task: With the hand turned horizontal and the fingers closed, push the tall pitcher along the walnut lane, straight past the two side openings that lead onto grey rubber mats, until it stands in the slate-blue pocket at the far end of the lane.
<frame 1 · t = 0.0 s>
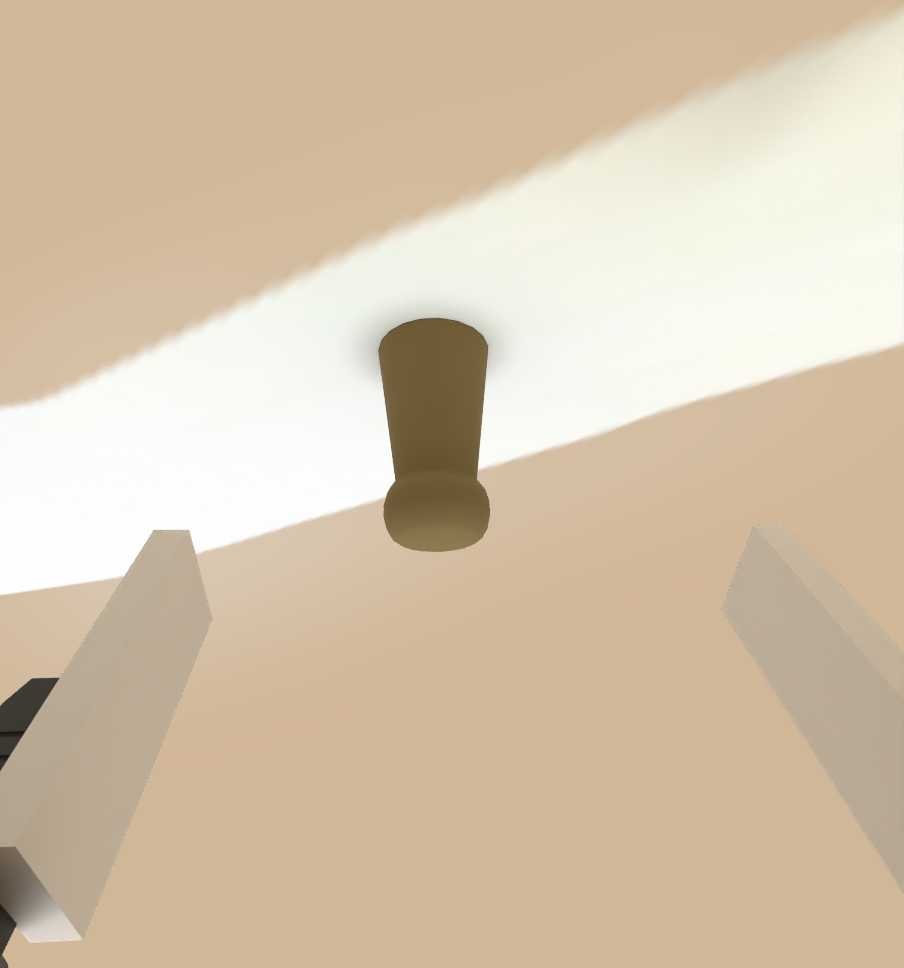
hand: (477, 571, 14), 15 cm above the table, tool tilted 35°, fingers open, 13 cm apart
cork: (433, 350, 32), on the table
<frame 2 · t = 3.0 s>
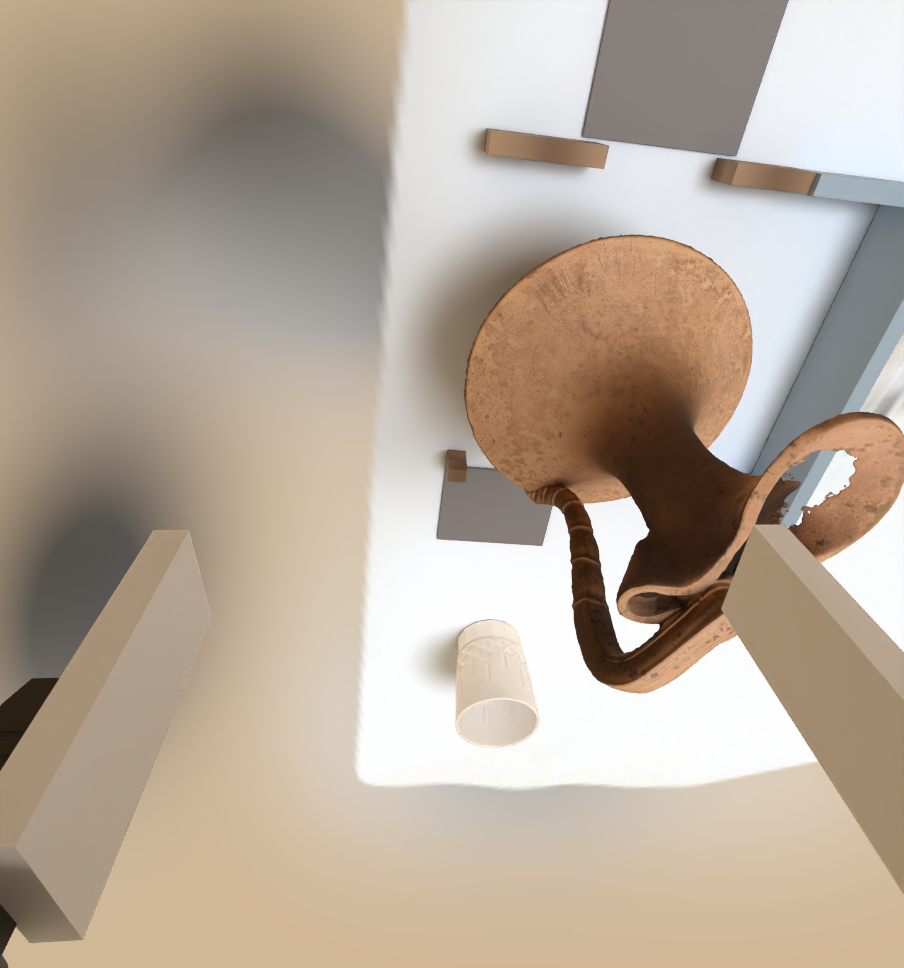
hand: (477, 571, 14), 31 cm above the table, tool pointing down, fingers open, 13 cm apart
pitcher: (568, 331, 43), on the table
mat b: (496, 506, 52), on the table
mat a: (679, 68, 34), on the table
lane: (633, 338, 43), on the table
beige tumbler: (488, 638, 62), on the table
pocket: (721, 347, 44), on the table
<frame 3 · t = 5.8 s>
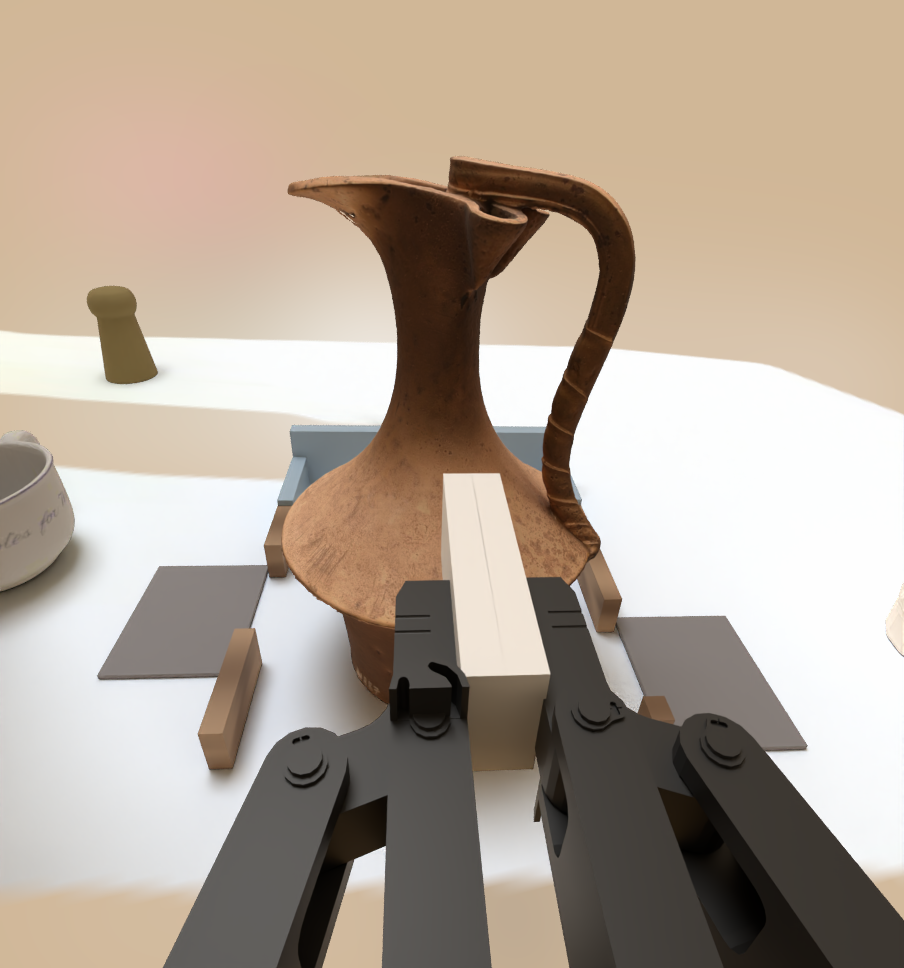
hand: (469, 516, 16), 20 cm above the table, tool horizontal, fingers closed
pitcher: (436, 648, 38), on the table
mat b: (699, 677, 36), on the table
mat a: (193, 617, 39), on the table
cork: (132, 376, 74), on the table
lane: (434, 593, 42), on the table
teacup: (18, 555, 44), on the table
pocket: (431, 534, 48), on the table
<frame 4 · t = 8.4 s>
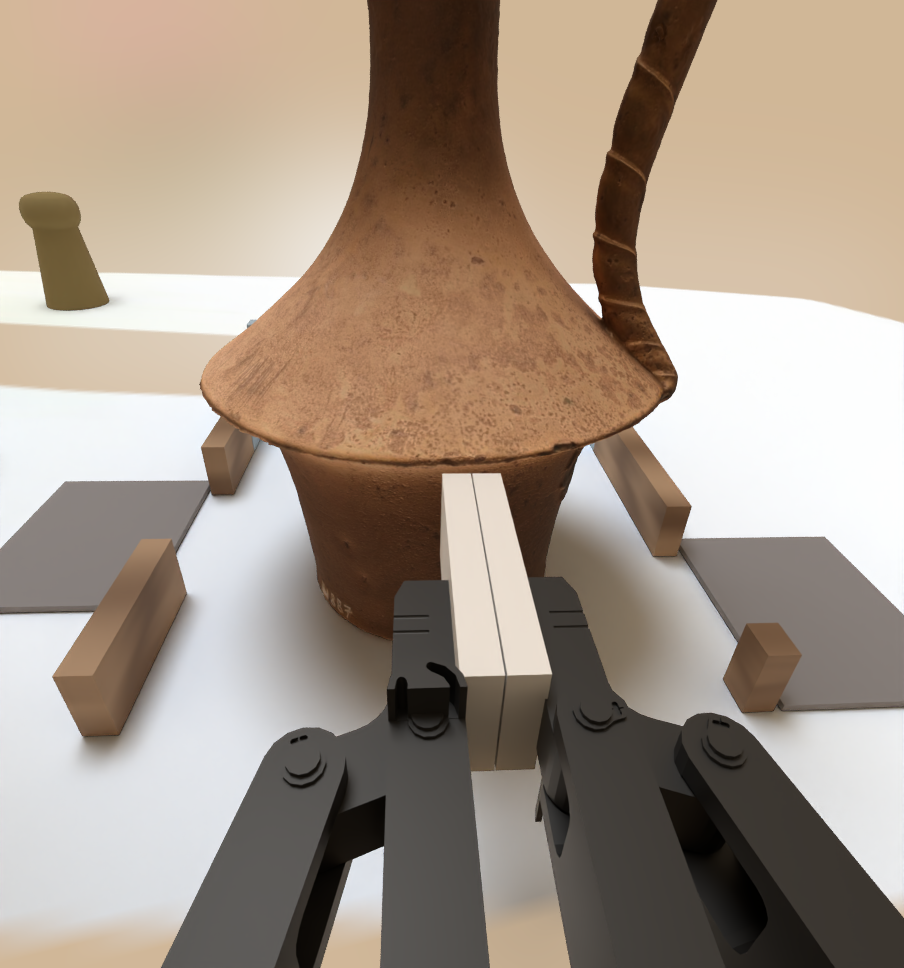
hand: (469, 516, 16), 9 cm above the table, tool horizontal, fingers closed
pitcher: (434, 566, 28), on the table, touching gripper
mat b: (805, 611, 26), on the table
mat a: (100, 539, 28), on the table
cork: (79, 304, 64), on the table
lane: (430, 512, 31), on the table
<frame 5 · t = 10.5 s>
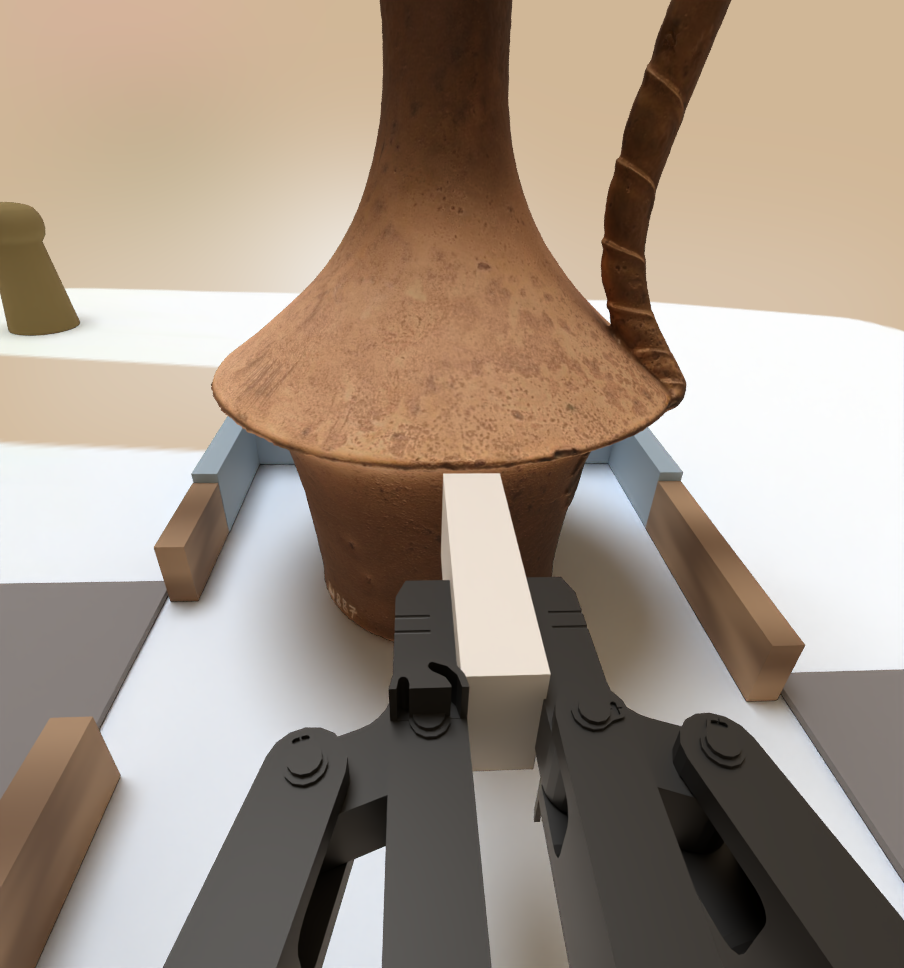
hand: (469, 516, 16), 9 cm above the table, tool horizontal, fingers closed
pitcher: (441, 569, 28), on the table, touching gripper
mat a: (15, 678, 21), on the table
cork: (45, 327, 57), on the table
lane: (450, 629, 24), on the table
pocket: (442, 529, 30), on the table
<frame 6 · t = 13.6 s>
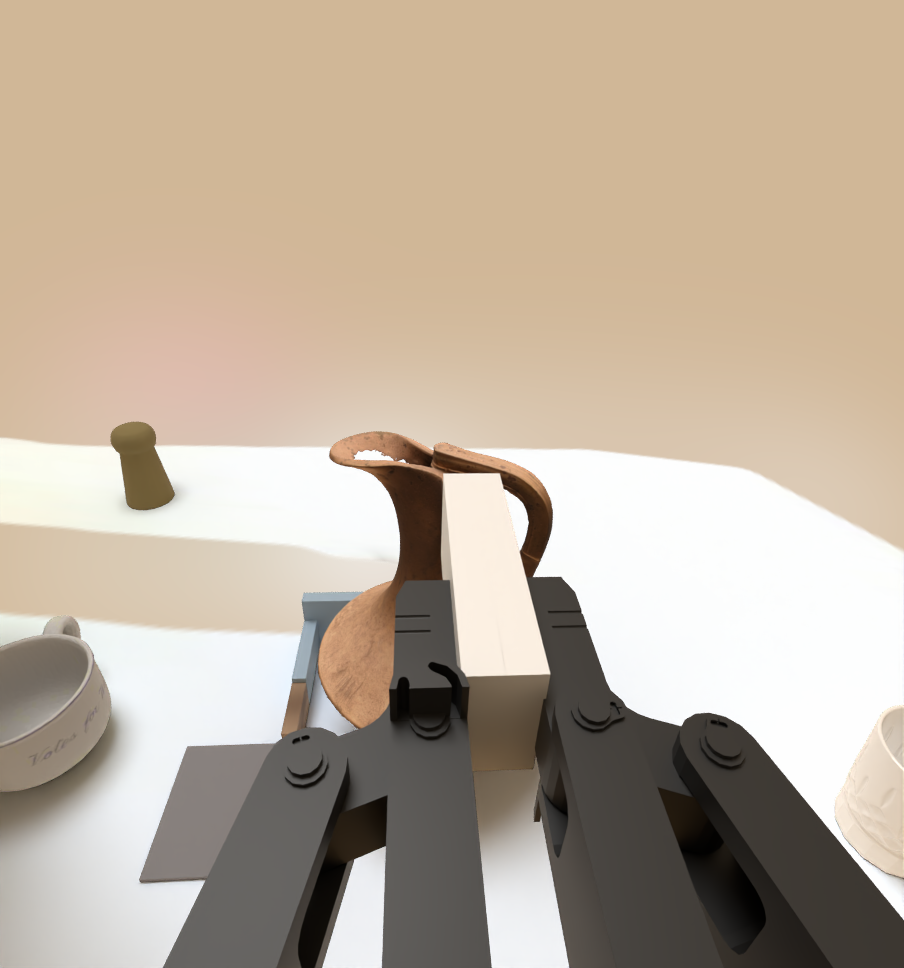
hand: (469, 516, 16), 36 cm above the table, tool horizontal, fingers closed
pitcher: (429, 730, 50), on the table
mat a: (220, 806, 44), on the table
cork: (151, 498, 80), on the table
lane: (432, 773, 47), on the table
beige tumbler: (881, 833, 44), on the table
teacup: (60, 731, 49), on the table
pocket: (430, 700, 53), on the table
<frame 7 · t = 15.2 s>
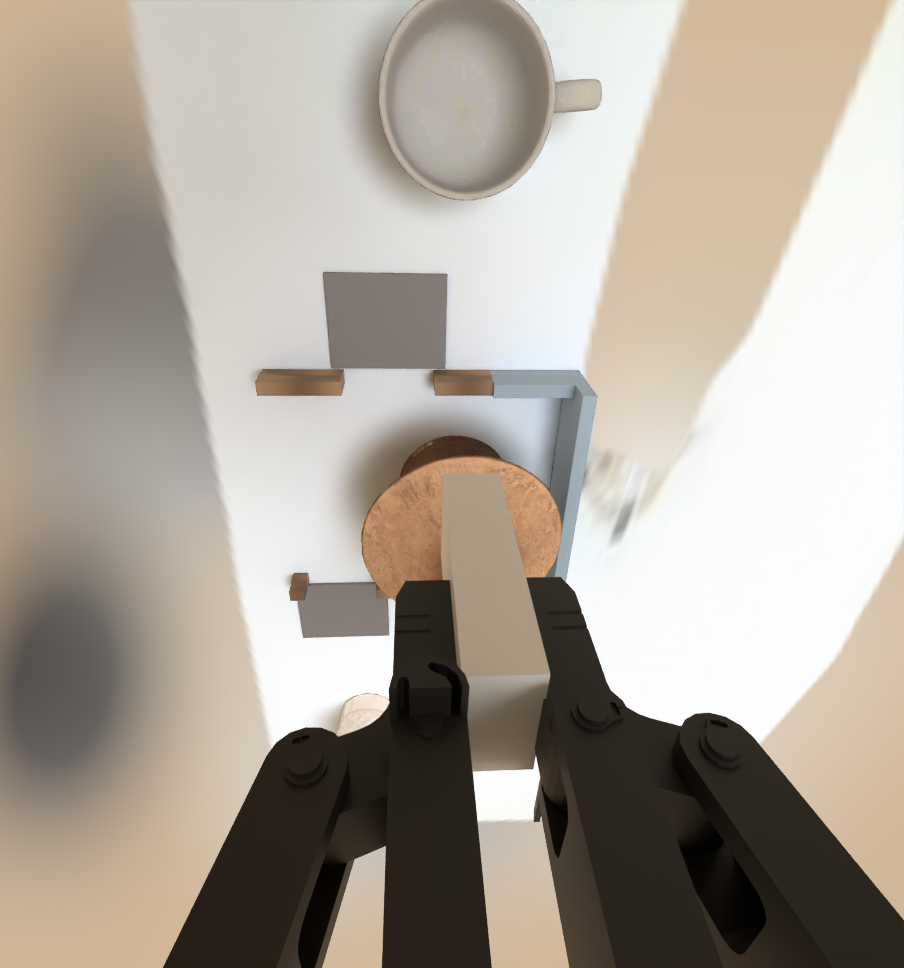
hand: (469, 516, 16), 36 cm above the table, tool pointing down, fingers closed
pitcher: (452, 482, 58), on the table
mat b: (344, 609, 66), on the table
mat a: (387, 322, 49), on the table
lane: (412, 486, 57), on the table
beige tumbler: (368, 708, 75), on the table
teacup: (480, 109, 41), on the table
pocket: (482, 485, 58), on the table
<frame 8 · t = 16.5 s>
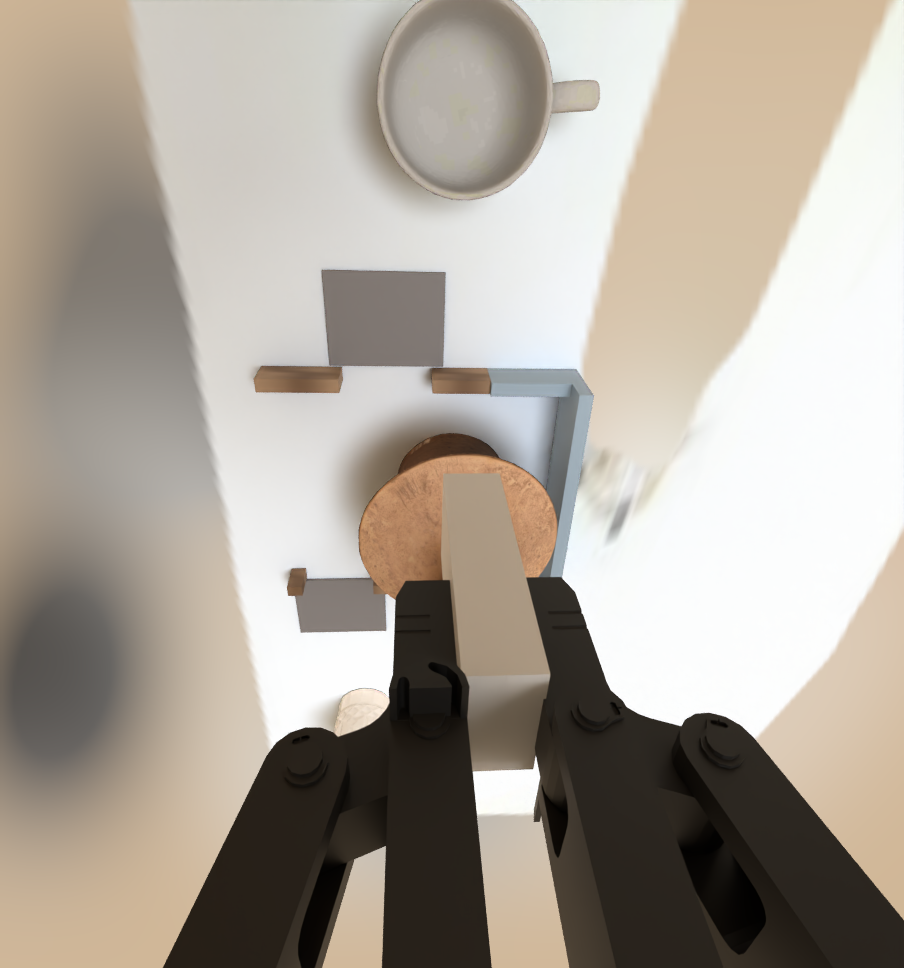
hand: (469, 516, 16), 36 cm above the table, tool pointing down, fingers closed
pitcher: (450, 480, 58), on the table
mat b: (341, 604, 66), on the table
mat a: (385, 320, 49), on the table
lane: (410, 483, 58), on the table
beige tumbler: (365, 702, 76), on the table
teacup: (479, 108, 41), on the table
pocket: (479, 482, 58), on the table
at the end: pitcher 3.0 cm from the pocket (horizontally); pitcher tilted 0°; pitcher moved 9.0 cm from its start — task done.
